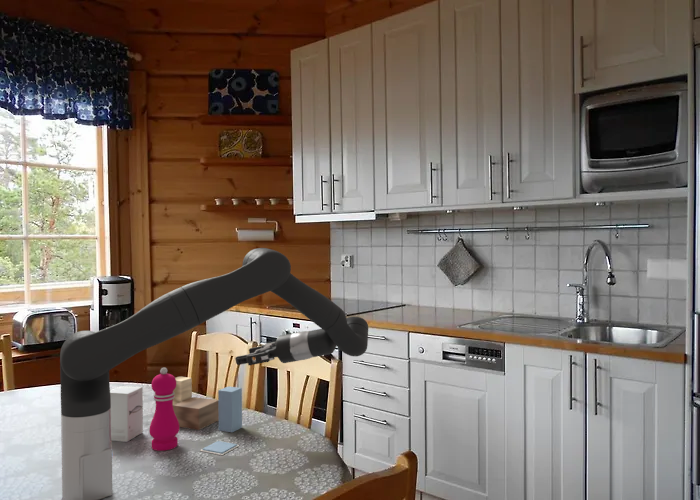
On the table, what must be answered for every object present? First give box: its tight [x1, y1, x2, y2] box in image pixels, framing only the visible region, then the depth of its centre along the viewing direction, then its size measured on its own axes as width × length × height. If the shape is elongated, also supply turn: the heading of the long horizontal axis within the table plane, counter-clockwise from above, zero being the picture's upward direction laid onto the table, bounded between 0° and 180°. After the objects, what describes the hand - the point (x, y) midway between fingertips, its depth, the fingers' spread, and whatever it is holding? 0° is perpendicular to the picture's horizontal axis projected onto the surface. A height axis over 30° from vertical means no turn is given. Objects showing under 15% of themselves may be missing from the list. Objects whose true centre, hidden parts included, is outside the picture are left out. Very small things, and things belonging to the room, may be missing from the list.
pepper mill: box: [149, 367, 180, 452], centre depth 142 cm, size 7×7×20 cm
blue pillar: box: [217, 385, 243, 433], centre depth 155 cm, size 4×4×11 cm
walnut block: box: [173, 396, 219, 431], centre depth 161 cm, size 9×9×6 cm
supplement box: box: [110, 385, 144, 443], centre depth 150 cm, size 7×7×13 cm
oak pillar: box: [173, 376, 193, 405], centre depth 168 cm, size 4×4×11 cm
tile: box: [199, 440, 240, 456], centre depth 141 cm, size 7×7×1 cm
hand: (243, 356), depth 156 cm, fingers open, 8 cm apart
